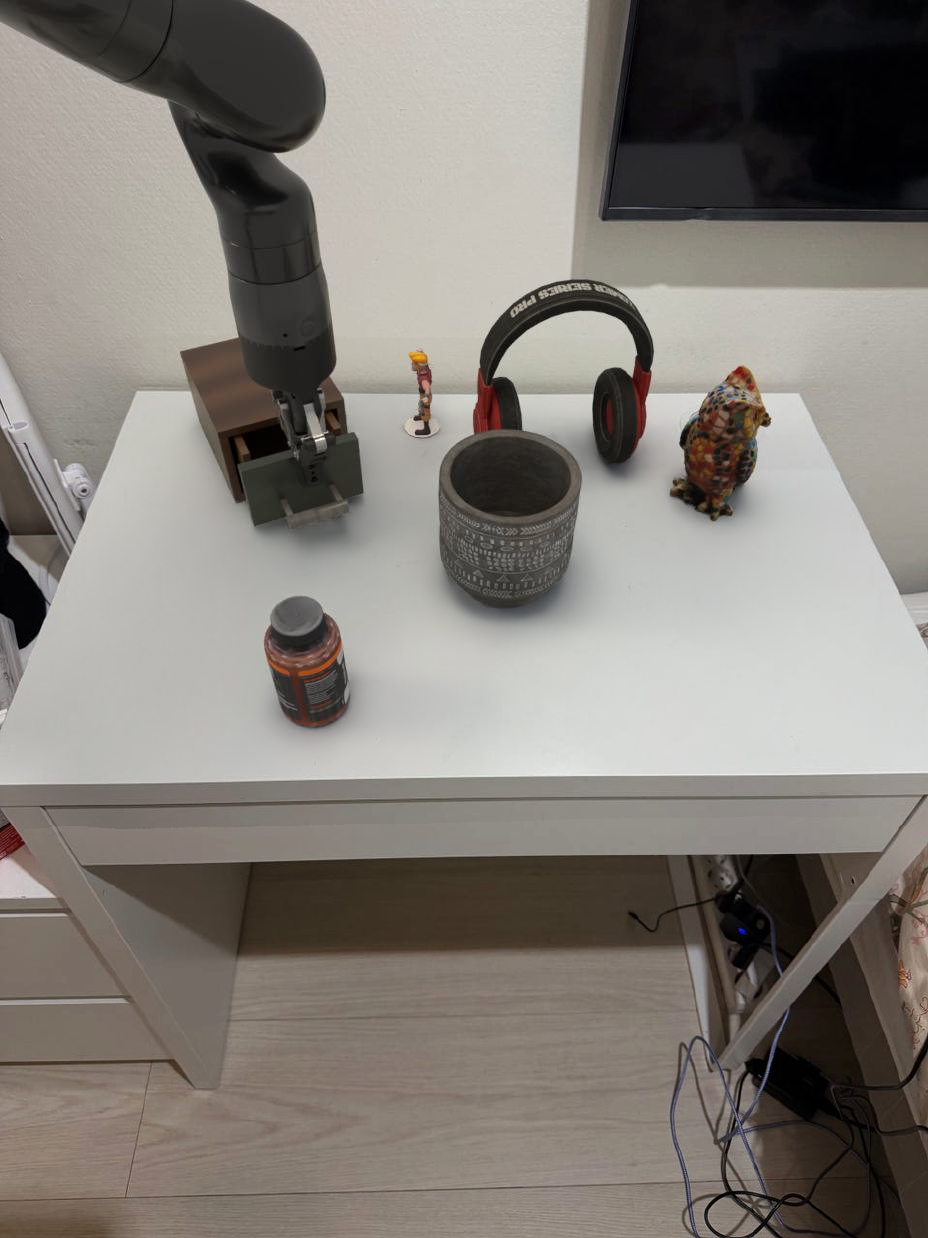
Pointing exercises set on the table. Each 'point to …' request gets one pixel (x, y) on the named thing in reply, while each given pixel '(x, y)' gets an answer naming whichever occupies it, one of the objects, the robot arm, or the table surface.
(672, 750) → the table surface
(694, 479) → the figurine
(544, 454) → the planter
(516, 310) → the headphones
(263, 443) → the drawer
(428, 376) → the action figure
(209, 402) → the cabinet
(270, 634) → the supplement bottle
